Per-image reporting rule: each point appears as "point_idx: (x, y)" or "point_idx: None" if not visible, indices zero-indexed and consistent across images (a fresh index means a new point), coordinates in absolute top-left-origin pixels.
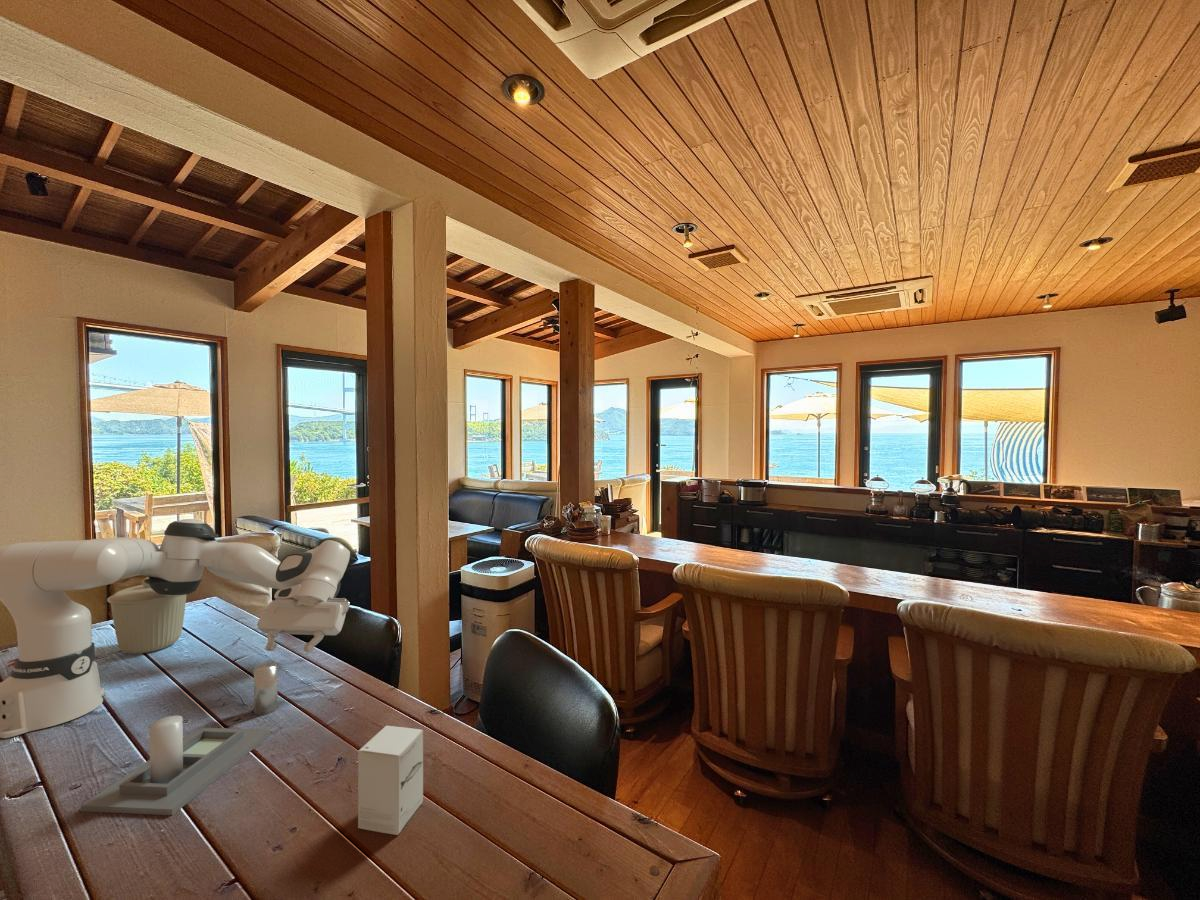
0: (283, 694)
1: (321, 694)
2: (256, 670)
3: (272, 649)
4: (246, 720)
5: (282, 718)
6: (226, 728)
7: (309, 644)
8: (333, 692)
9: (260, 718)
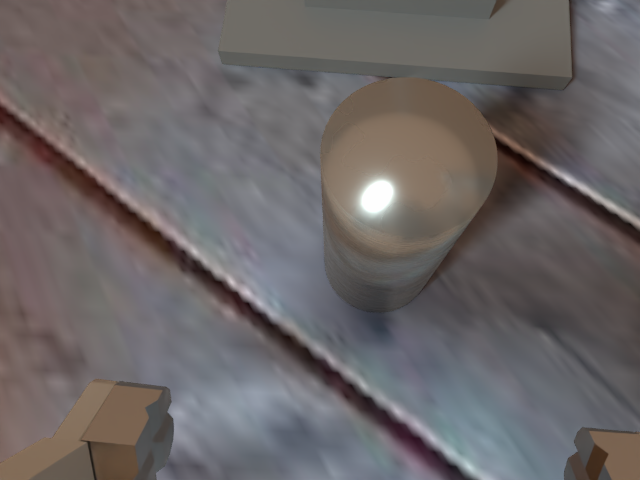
0: (387, 432)
1: None
2: (437, 88)
3: (578, 460)
4: None
5: (242, 181)
6: (429, 66)
7: (80, 417)
8: None
9: None
